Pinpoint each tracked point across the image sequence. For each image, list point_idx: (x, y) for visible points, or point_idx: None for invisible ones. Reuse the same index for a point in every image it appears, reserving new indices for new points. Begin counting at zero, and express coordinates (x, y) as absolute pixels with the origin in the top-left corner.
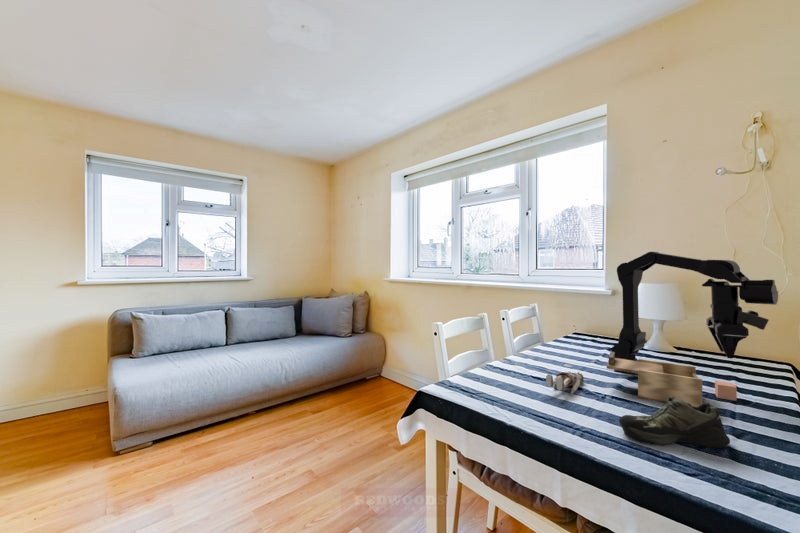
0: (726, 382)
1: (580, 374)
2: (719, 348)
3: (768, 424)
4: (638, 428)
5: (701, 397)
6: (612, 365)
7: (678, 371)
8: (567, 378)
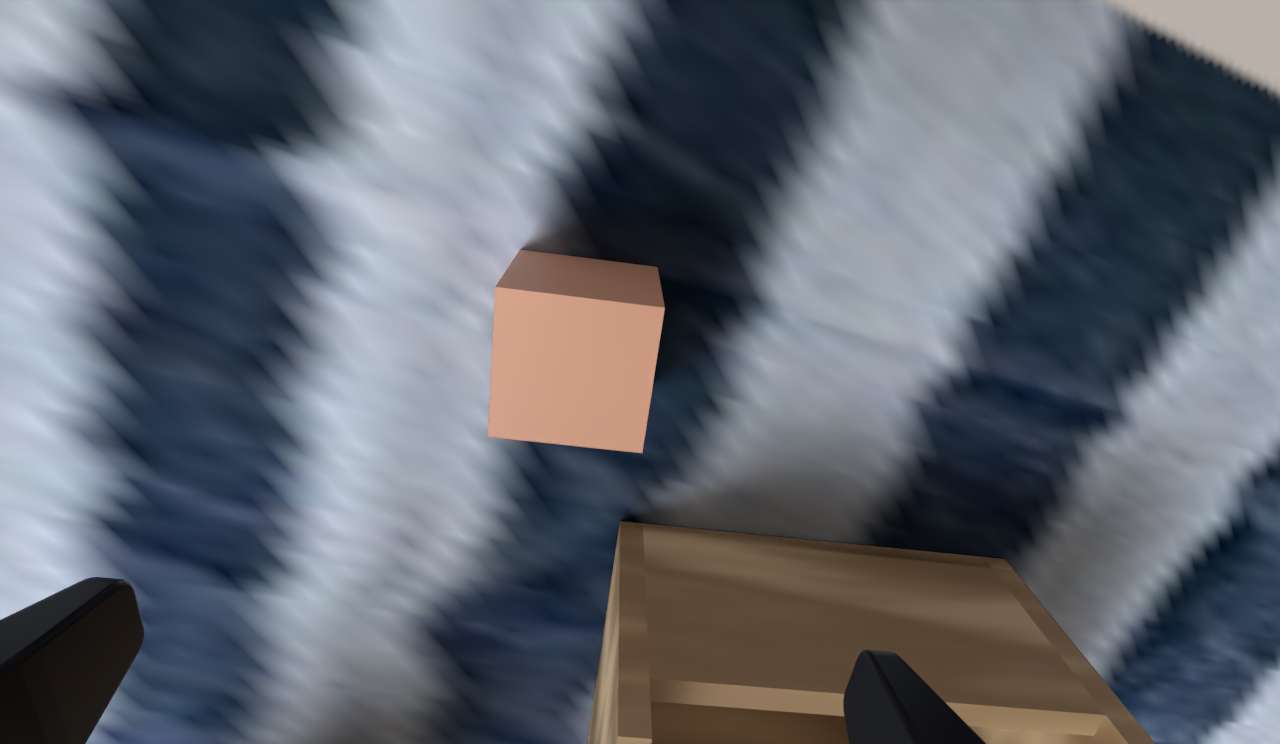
0: (500, 348)
1: None
2: (97, 719)
3: (1174, 226)
4: None
5: (1063, 634)
6: None
7: None
8: None
